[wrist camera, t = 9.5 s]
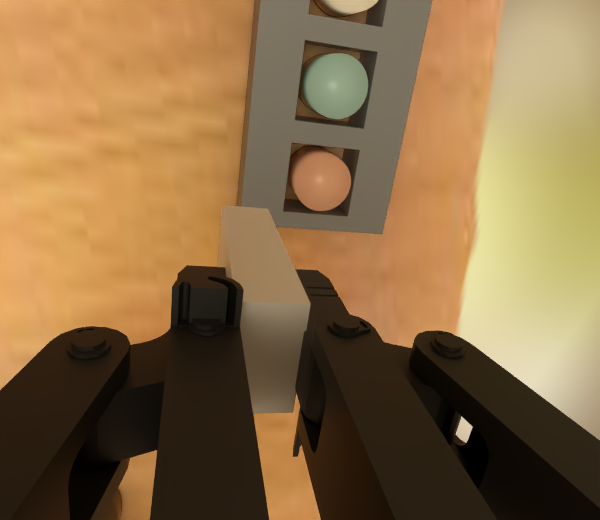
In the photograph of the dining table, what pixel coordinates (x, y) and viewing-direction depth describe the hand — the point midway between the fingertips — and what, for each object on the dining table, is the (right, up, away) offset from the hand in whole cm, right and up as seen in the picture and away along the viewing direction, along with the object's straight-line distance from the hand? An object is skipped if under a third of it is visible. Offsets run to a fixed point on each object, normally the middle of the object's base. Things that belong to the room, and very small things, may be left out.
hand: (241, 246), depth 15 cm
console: (+4, +14, +22) cm, 26 cm away
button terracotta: (+3, +7, +24) cm, 25 cm away
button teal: (+4, +13, +21) cm, 25 cm away
